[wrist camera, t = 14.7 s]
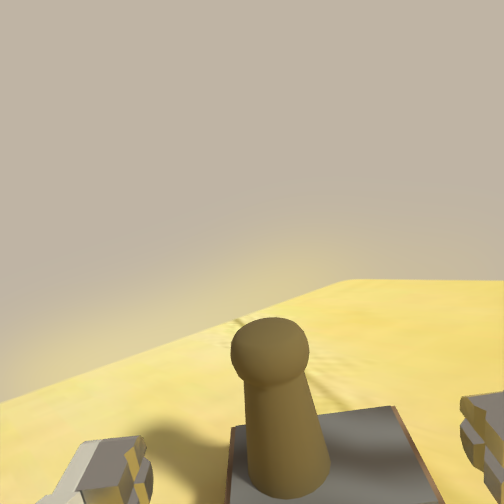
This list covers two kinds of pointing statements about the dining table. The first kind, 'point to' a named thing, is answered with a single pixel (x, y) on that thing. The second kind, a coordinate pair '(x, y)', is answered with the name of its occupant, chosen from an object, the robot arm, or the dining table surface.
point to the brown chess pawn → (279, 409)
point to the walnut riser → (349, 463)
